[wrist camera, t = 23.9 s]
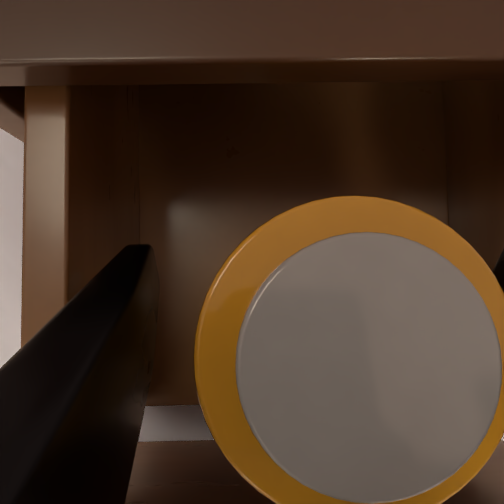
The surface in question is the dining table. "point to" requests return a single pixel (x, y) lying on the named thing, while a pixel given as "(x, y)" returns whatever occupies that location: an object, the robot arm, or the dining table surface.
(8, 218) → the dining table surface
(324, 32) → the cabinet
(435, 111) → the drawer
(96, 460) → the robot arm
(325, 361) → the yellow jar
